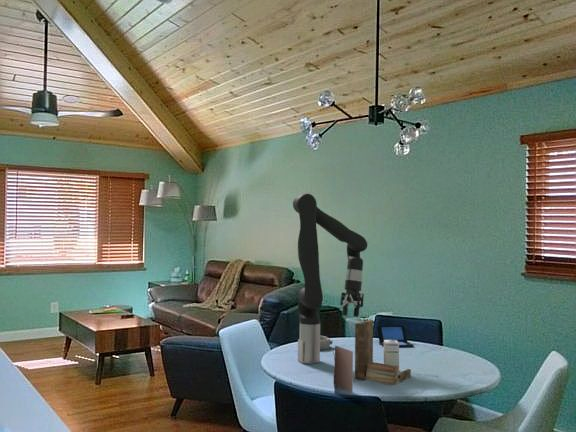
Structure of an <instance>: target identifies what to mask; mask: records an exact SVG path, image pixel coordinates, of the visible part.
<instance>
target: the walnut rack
mask: <svg viewBox="0 0 576 432" xmlns="http://www.w3.org/2000/svg"><path fill="white" fill-rule="evenodd" d="M354 327H355V329H354V331H355V332H354V333H355V335H354V339H355V341H354V379H355V380H357V381H363V382H364V381H366V372H367V365H368V364H370V363H373V362H374V361H373V360H374V359H373V358H374V354H373V353H374V350H373V349H374V319H368V320H364V321H360V322H356V323H355V326H354ZM411 373H412V369H409V368H406V369H405V370H403V371H400V375H398V378H399V383H401V382H403V381H405V380H407V379H409V378H411V377H412V374H411Z"/></svg>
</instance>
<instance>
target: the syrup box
mask: <svg viewBox="0 0 576 432" xmlns="http://www.w3.org/2000/svg"><path fill="white" fill-rule="evenodd" d="M383 364H387V365H393V366H398V370H399V371H400V348H399V343H398V341H397V340H384V346H383Z"/></svg>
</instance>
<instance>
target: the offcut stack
mask: <svg viewBox="0 0 576 432" xmlns="http://www.w3.org/2000/svg"><path fill="white" fill-rule="evenodd" d="M400 372H401V370H400V369H399V370H398V366H393V365H387V364H384V363H380V362H374V361H373V363H370V364H368V365H367V372H366V377H365V381H370V382H375V383H380V384H386V385H389V386H395V385H397V384H399V383H400V382H399V378H398V375H400Z"/></svg>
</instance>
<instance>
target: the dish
mask: <svg viewBox="0 0 576 432" xmlns="http://www.w3.org/2000/svg"><path fill="white" fill-rule="evenodd" d="M333 342H334V341H333V340H332V339H330V337H328V336H324V335H320V350H327V349H329V348H330V346H331V345H332V344H333Z"/></svg>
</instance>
